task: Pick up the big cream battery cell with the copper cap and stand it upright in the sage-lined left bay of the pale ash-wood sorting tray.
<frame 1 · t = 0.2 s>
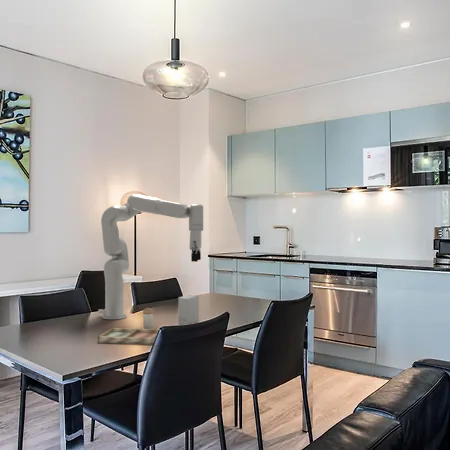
hand: (196, 260, 240), 31 cm above the table, fingers open, 9 cm apart
battery cell: (148, 331, 217), on the table
skincare box: (188, 329, 221), on the table
sorting tray: (131, 338, 202), on the table
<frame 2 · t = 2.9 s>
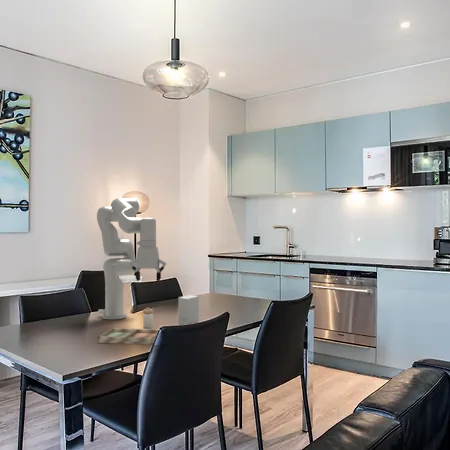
hand: (148, 280, 216), 24 cm above the table, fingers open, 9 cm apart
nothing on the table moved.
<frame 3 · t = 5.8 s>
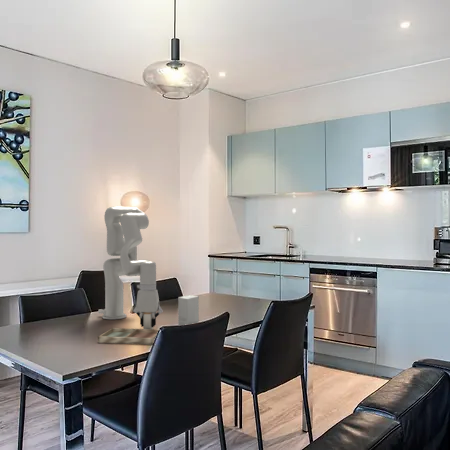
hand: (148, 325, 217), 2 cm above the table, fingers closed on battery cell, 4 cm apart
battery cell: (148, 331, 217), on the table, touching gripper
everything else where it was.
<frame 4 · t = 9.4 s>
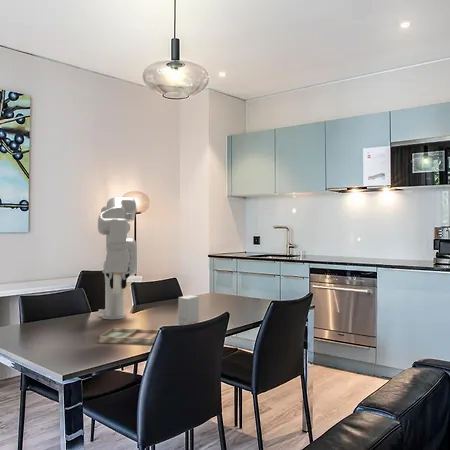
hand: (118, 287, 203), 22 cm above the table, fingers closed on battery cell, 4 cm apart
battery cell: (118, 293, 203), point 20 cm above the table, touching gripper
everything else where it was.
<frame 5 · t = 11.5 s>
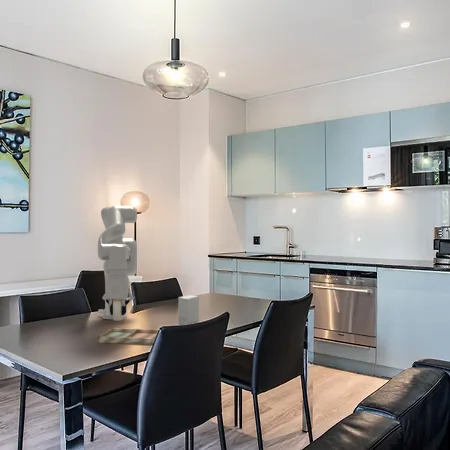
hand: (118, 314, 203), 11 cm above the table, fingers closed on battery cell, 4 cm apart
battery cell: (118, 319, 203), point 8 cm above the table, touching gripper
everything else where it was.
when the fingers open (4 cm above the table, at t = 13.1 s): battery cell stays where it is, resting on sorting tray.
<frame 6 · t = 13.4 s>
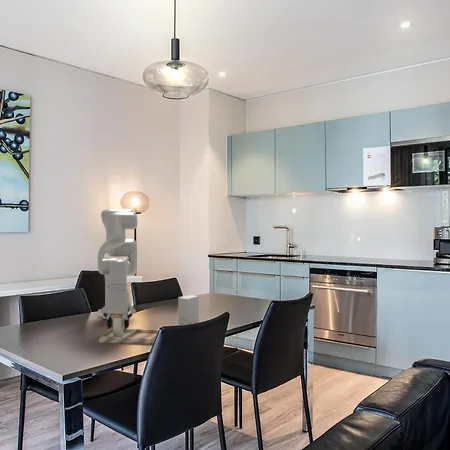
hand: (118, 327, 203), 5 cm above the table, fingers open, 6 cm apart
battery cell: (118, 336, 203), point 1 cm above the table, touching sorting tray
everything else where it was.
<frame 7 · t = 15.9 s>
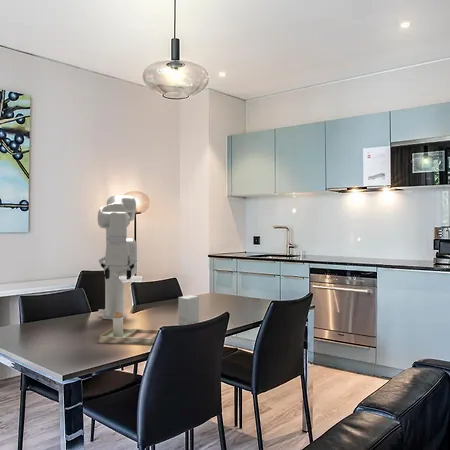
hand: (118, 278, 203), 26 cm above the table, fingers open, 9 cm apart
nothing on the table moved.
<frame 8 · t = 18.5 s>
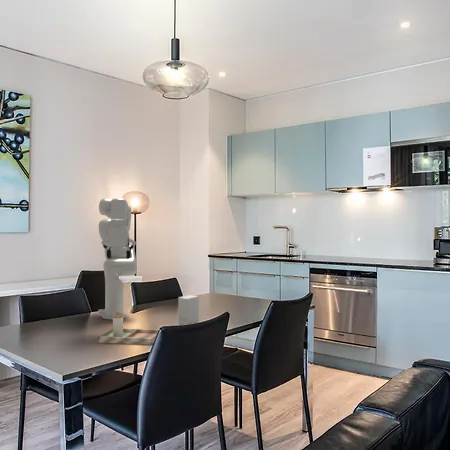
hand: (118, 258, 226), 33 cm above the table, fingers open, 9 cm apart
nothing on the table moved.
at the end: battery cell inside the target area on the sorting tray (0.0 cm from its centre), point 1.0 cm above the sorting tray's base; battery cell tilted 1°; the gripper is holding nothing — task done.
